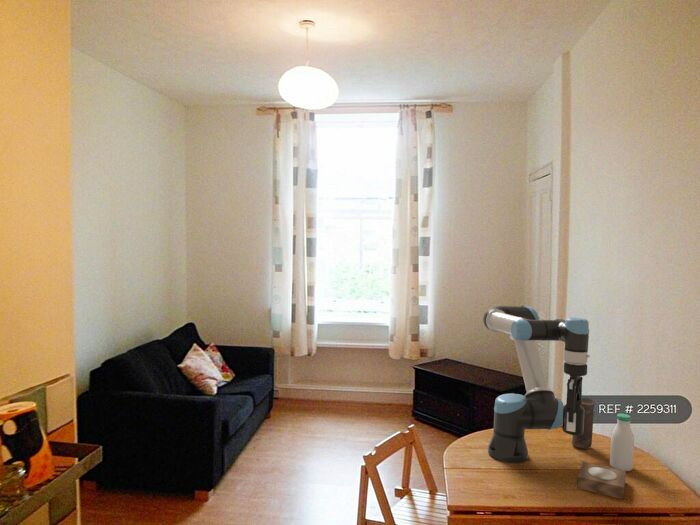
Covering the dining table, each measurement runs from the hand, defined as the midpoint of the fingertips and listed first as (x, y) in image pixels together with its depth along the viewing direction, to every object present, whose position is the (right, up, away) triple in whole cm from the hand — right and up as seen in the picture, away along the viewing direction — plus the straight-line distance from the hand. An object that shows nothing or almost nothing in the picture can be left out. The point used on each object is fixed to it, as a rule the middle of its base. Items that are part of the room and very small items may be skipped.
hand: (573, 427), depth 183 cm
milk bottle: (+24, -20, +15) cm, 35 cm away
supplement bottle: (0, -2, 0) cm, 2 cm away
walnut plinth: (+10, -20, 0) cm, 22 cm away
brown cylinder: (+17, -18, +33) cm, 41 cm away
